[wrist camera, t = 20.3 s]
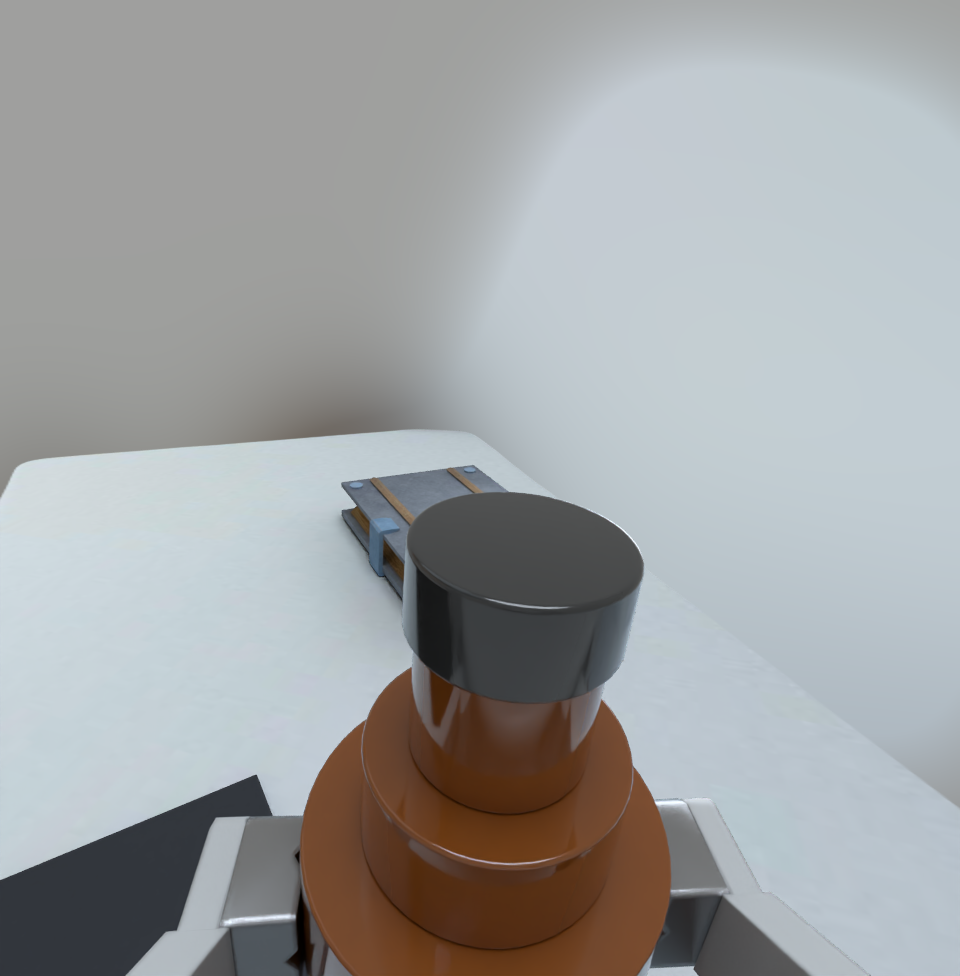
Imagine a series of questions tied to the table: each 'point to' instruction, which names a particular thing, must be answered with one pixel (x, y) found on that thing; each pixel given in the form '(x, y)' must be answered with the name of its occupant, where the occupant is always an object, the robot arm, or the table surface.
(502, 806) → the bottle
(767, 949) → the robot arm
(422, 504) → the book
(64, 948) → the mat
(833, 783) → the table surface
